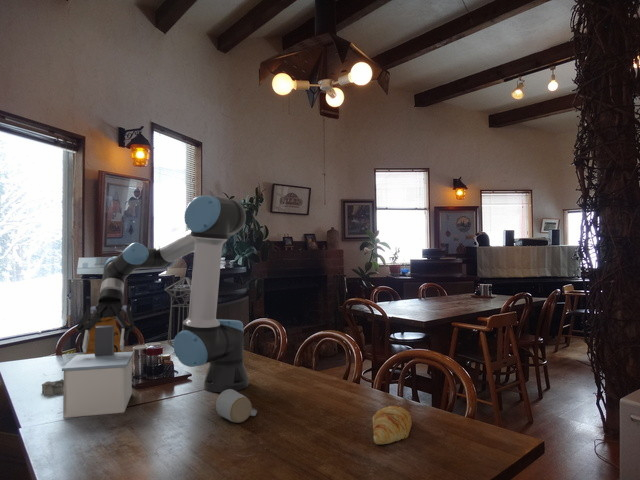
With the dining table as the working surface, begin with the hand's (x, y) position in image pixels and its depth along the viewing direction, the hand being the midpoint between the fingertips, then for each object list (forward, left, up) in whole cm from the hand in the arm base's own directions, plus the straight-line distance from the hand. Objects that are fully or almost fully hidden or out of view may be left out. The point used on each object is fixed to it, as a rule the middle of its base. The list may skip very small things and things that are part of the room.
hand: (102, 348), depth 146 cm
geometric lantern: (-6, -73, -16) cm, 75 cm away
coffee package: (+17, -39, -16) cm, 46 cm away
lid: (-1, +4, -3) cm, 5 cm away
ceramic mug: (-45, +16, -17) cm, 51 cm away
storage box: (-1, +4, -16) cm, 17 cm away
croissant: (-86, +27, -17) cm, 92 cm away
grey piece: (+19, -11, -17) cm, 28 cm away
